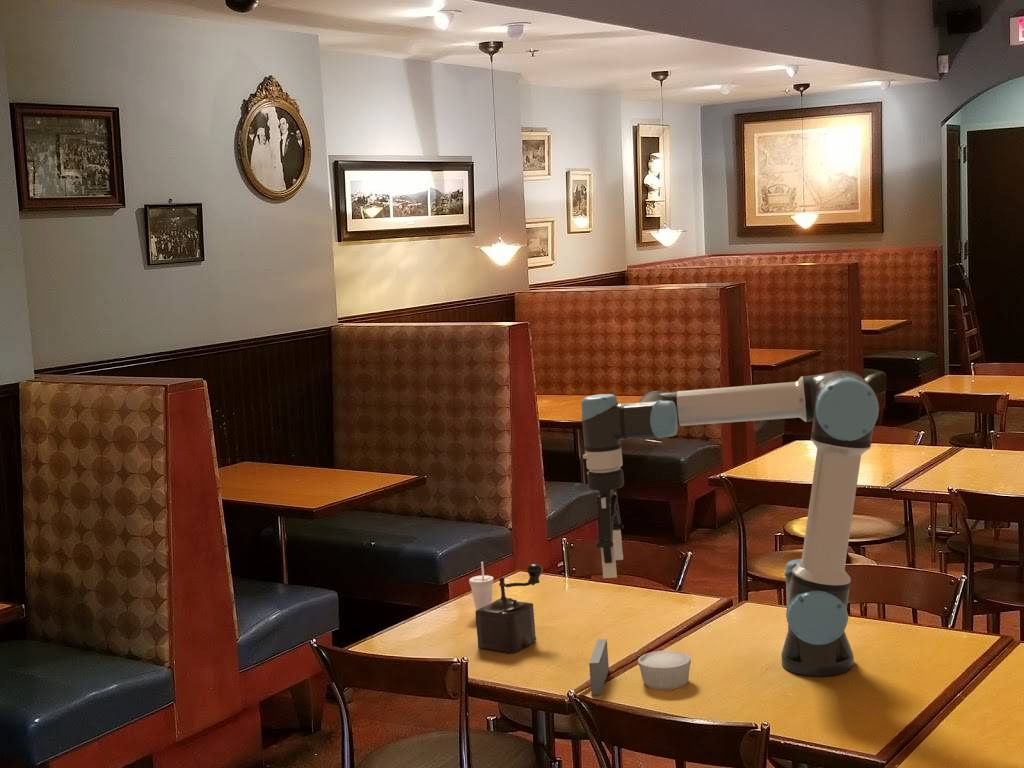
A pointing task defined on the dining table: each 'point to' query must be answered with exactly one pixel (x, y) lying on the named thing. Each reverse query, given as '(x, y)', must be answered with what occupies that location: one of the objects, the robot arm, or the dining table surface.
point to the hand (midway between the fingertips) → (613, 568)
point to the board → (599, 667)
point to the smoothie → (481, 589)
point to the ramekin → (665, 669)
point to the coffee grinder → (508, 619)
